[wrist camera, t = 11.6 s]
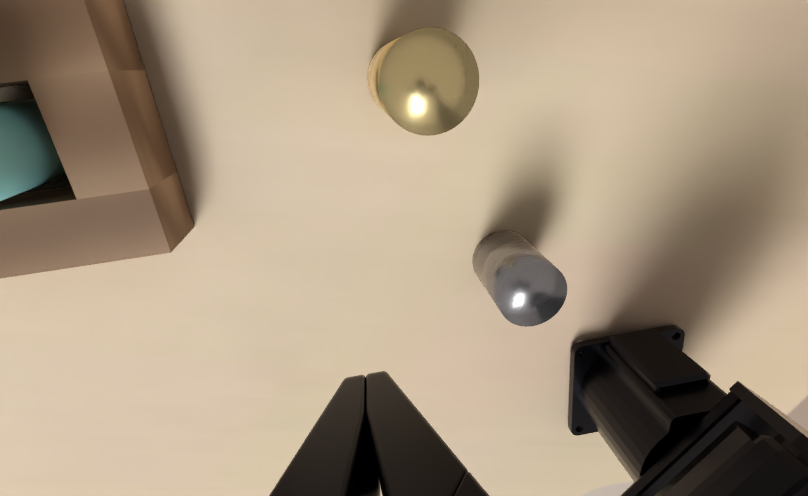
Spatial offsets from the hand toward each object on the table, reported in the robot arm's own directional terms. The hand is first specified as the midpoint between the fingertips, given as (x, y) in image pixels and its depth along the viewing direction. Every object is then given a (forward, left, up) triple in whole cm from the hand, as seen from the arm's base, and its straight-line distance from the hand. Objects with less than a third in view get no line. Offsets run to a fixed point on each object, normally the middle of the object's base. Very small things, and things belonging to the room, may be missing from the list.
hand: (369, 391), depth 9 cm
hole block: (+5, +12, -13) cm, 18 cm away
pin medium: (+5, -3, -13) cm, 14 cm away
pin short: (-4, -7, -13) cm, 15 cm away
